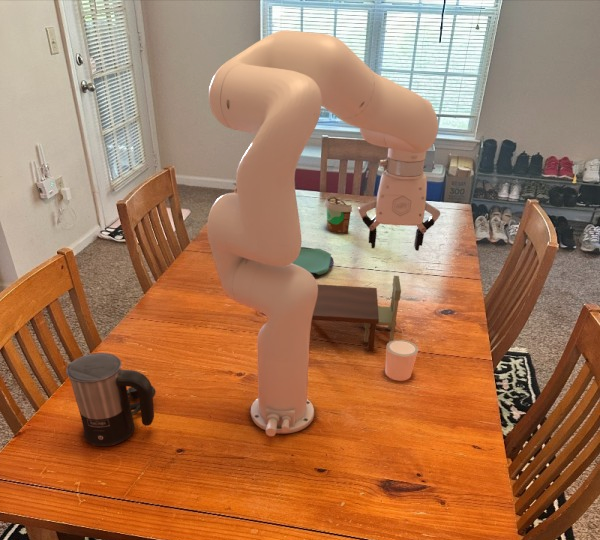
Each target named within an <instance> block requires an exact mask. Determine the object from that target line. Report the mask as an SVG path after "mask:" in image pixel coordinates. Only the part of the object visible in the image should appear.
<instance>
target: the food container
mask: <svg viewBox="0 0 600 540" xmlns="http://www.w3.org/2000/svg"><path fill="white" fill-rule="evenodd" d="M336 195H337V194H332V195H328V197H326V199H325V202H324V207H325V208H326V230H327V231H328V232H330V233H332V234H337V235H349V227H350V222H351V221H350V219H351V213H352V212H353V208H352V207H353V206H352V204H346V203H345V201H343V200H340V199H338V197H336Z"/></svg>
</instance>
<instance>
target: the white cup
mask: <svg viewBox="0 0 600 540" xmlns="http://www.w3.org/2000/svg"><path fill="white" fill-rule="evenodd" d="M418 353H419V347H418V345H417V344H415V343H414V342H412V341H409V340H406V339H393V341H390V342H389V341H388V342H387V343H386V347H385V371H384V372H385V376H386V377H387V378H389V379H391V380H392V381H393V380H394V381H399V382H400V381H401V382H402V381H407V380H409V379H410V378H411V377H412V373H413V370H414V367H415V363H416V359H417V356H418Z"/></svg>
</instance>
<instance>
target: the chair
mask: <svg viewBox="0 0 600 540" xmlns="http://www.w3.org/2000/svg"><path fill="white" fill-rule="evenodd" d="M401 295H402V289H401V281H400V275H393V278H392V291H391V299H390V306H380V305H378V315H379V322H378V324H376V326H385V327H387V330H390V334H389V341H388V343H389V342H390V341H393V340H395V339H394V338H395V331H396V326H397V316H398V315H397V314H398V310H399V309H398V307H399V302H400V300H401ZM363 329H365V330H364V338H363V343H366V344H368V341H369V333H370V324H369V323H363Z"/></svg>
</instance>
